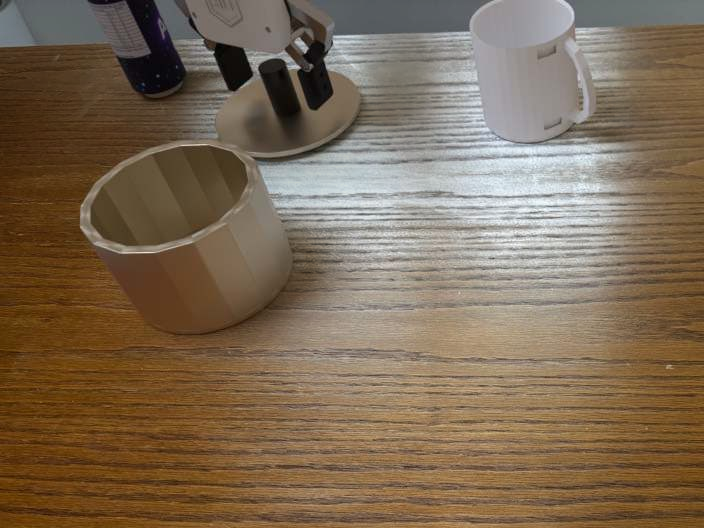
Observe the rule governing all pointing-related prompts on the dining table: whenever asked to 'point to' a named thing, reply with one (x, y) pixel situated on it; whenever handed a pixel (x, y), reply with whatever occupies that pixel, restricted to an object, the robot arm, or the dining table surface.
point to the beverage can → (141, 45)
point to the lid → (284, 113)
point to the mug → (530, 69)
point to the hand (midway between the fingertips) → (281, 92)
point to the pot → (189, 235)
